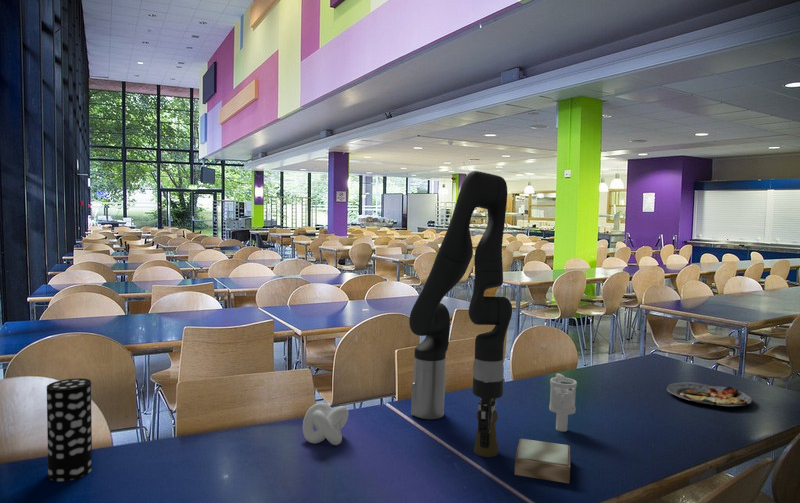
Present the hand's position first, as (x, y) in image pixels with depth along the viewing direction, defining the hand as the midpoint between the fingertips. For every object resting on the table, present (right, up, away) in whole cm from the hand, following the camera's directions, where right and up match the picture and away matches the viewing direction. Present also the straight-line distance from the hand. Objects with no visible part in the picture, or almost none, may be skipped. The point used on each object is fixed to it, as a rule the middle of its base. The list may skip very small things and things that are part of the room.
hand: (486, 442), depth 133 cm
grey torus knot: (-40, -1, +5) cm, 41 cm away
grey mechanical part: (+24, -2, +16) cm, 29 cm away
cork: (0, -3, 0) cm, 3 cm away
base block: (+12, -3, -8) cm, 15 cm away
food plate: (+82, -2, +46) cm, 94 cm away
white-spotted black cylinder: (-95, -1, -15) cm, 96 cm away
